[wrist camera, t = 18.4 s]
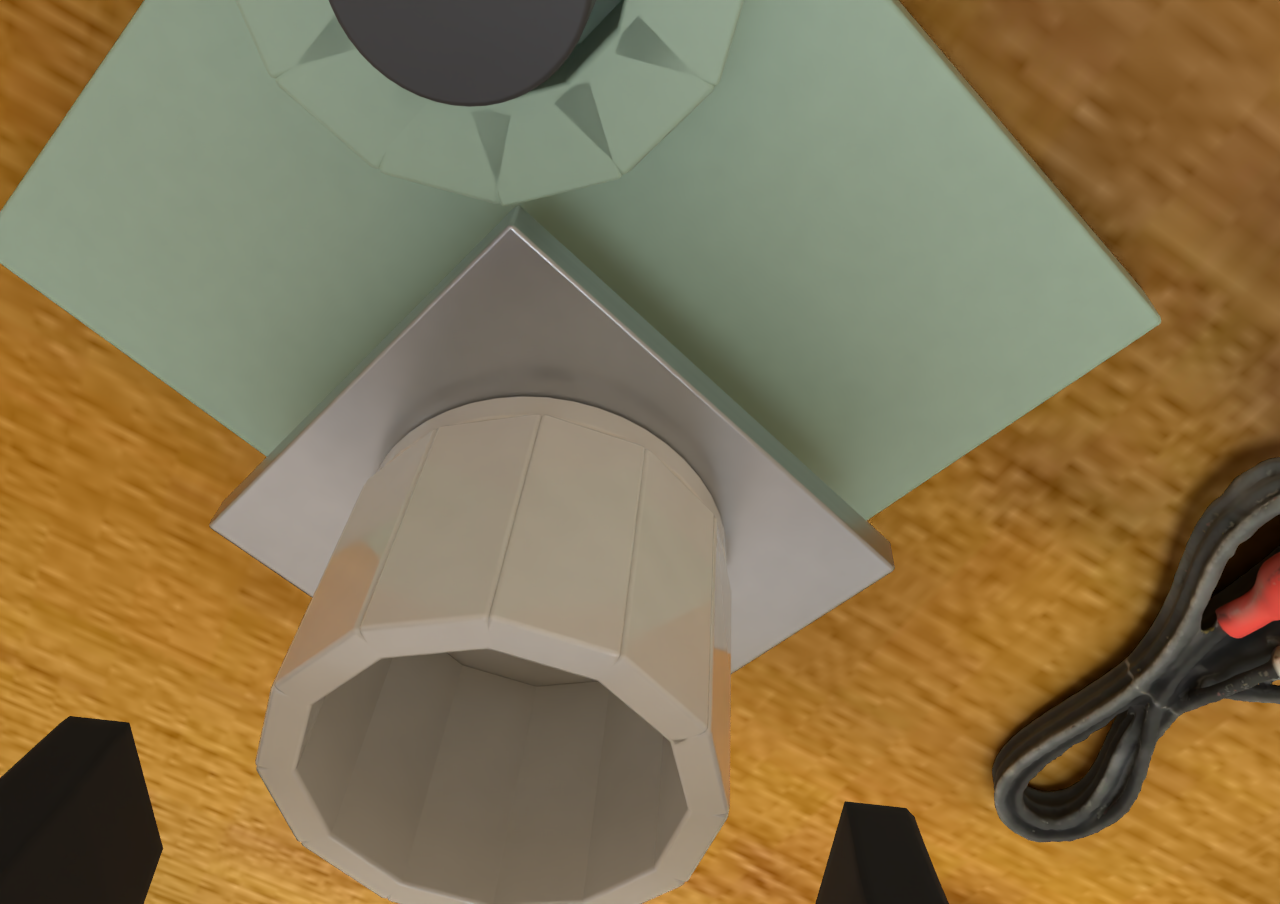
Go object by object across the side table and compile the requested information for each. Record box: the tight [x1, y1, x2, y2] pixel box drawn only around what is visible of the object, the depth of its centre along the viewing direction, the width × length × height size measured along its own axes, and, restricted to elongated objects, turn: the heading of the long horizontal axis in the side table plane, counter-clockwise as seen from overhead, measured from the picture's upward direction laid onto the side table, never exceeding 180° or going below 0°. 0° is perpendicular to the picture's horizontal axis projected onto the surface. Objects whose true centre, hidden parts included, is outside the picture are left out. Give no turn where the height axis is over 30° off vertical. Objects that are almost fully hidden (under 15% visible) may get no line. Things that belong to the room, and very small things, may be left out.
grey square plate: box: [209, 206, 895, 674], centre depth 15 cm, size 7×6×1 cm
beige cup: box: [255, 396, 732, 904], centre depth 14 cm, size 5×5×4 cm
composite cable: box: [992, 457, 1280, 842], centre depth 18 cm, size 10×5×2 cm, turn 142°
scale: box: [0, 0, 1161, 521], centre depth 15 cm, size 12×11×2 cm
